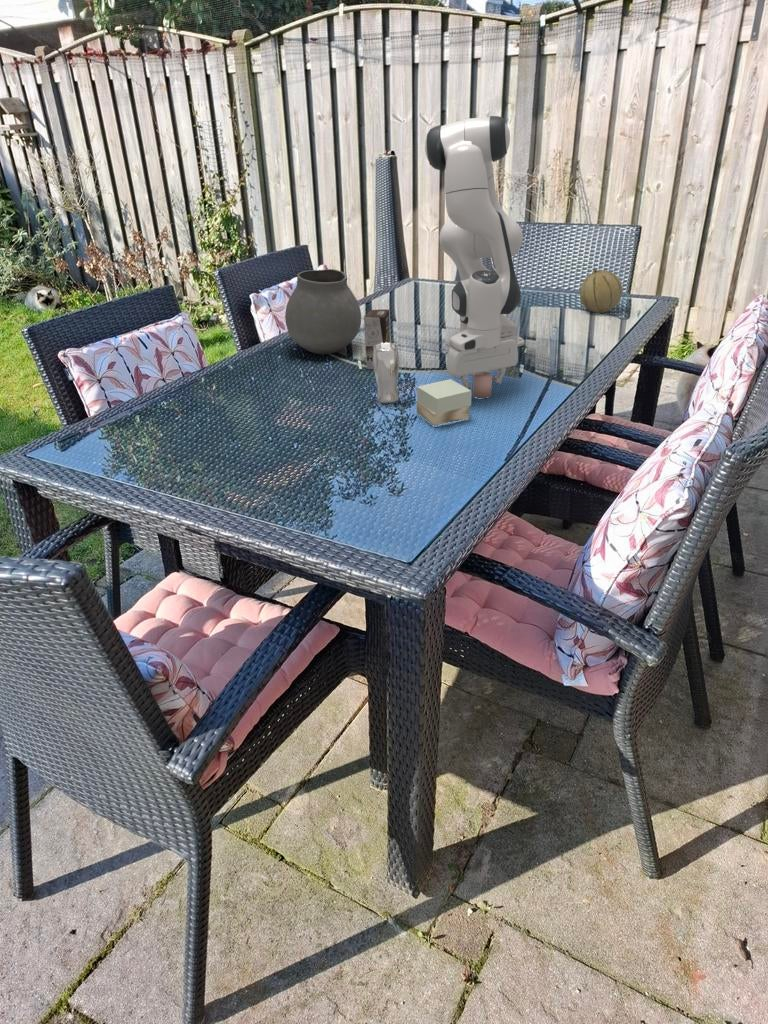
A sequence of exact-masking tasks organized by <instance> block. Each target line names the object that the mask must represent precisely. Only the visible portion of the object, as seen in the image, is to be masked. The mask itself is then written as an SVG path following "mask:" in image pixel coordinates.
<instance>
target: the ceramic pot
mask: <svg viewBox="0 0 768 1024" xmlns="http://www.w3.org/2000/svg"><path fill="white" fill-rule="evenodd" d="M296 276H297V279H296V286H295V288H294V289H293V291H292V293H291V295H290V296H289V299H288V301H287V302H286V306H285V316H284V317H285V318H284V320H285V325H286V329H287V331H288V335H289V336H290V338H291V339H292V340H293V341H294V342H295V343H296V344H297V345H299V346H300V347H301V348H302V349H305V350H306V351H308V352H309V353H310V352H311V353H312V354H316V355H331V354H334V353H338V352H340V351H341V350H343V349H344V348H345V347H347V346H348V345H350V344H351V343H352V341H353V340H354V339H355V338H356V337H357V335H359V331H360V329H361V325H362V311H361V308H360V305H359V302H358V300H357V298H356V296H355V295H354V293H353V292H352V290H351V289H350V287H349V285H348V276H347V273H345V272H344V271H341V270H338V269H333V268H325V269H318V270H317V269H316V270H315V269H310V270H304V271H301V272H299V273H297V275H296Z"/></svg>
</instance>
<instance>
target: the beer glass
mask: <svg viewBox="0 0 768 1024" xmlns="http://www.w3.org/2000/svg"><path fill="white" fill-rule="evenodd" d="M398 347H399V346H398V344H396V343H393V342H391V343H380V344H376V345H374V346H373V365H374V369H373V371H374V375H375V380H376V384H377V396H376V401H377V403H380V404H385V405H386V404H387V405H388V403H389V404H394V403H397V402H398V401H400V400H399V399H400V398H399V397H400V396H399V393H398V378H399V373H400V372H399V371H400V357H399V356H400V354H399V348H398ZM396 401H397V402H396Z"/></svg>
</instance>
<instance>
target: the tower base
mask: <svg viewBox="0 0 768 1024" xmlns="http://www.w3.org/2000/svg"><path fill="white" fill-rule="evenodd" d="M417 413H418V414H419V415H421V416H422V417H423V418H424V419H426V420H427V421H428V422H430V423H431V424H432V425H434V426H435V425H439V424H443V423H448V422H453V421H459V420H463V419H469V420H470V406H467V407H463V408H459V409H455V410H451V411H447V412H443V413H439V414H436V413H435V412H433V411H432V410H430V409H428V408H427V407H425V406H424V405H422V404H421V403H419V402H418V401H417V400H416V414H417ZM418 414H417V415H418ZM419 415H418V416H419ZM423 418H422V419H423ZM424 419H423V420H424ZM428 422H427V423H428Z"/></svg>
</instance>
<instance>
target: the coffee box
mask: <svg viewBox="0 0 768 1024" xmlns="http://www.w3.org/2000/svg"><path fill="white" fill-rule="evenodd" d="M390 318H391V317H390V309H369V310H368V311H367V313H366V314H365V315H364V316H363V327H364V342H365V343H364V345H365V363H366V365H365V366H366V369H367V370H374V365H373V346H374V345H376V344H380V343H392V342H391V322H390V320H391V319H390Z"/></svg>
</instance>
